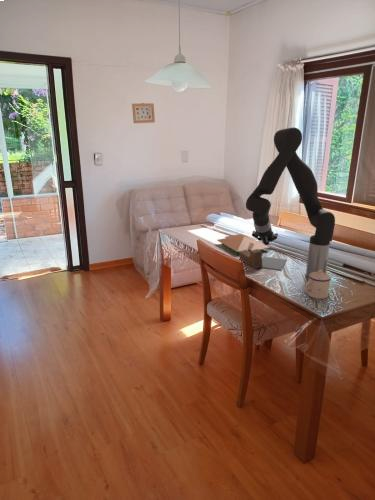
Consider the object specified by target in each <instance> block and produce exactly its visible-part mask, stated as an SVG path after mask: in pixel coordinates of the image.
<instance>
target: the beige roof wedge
mask: <svg viewBox="0 0 375 500" xmlns="http://www.w3.org/2000/svg"><path fill="white" fill-rule="evenodd" d="M216 241H218V242H219V243H221V244H222V246H221V247H223V248H224V249H226V250H227V251H230V252H231V253H233V254H234V255H236V256H239V251H243V250H248V251H249V252H250V251H252V250H256V249H258V250H260V251H261V253H263V251H264V250H265V252H268V251H269V249H270V248H271V246H268V245H265V244H263V242H260V241H259V240H257V239H255V238H252V237H250V236H248V235H246V234H243V233H239V234H232V235H228V236H224V238H220V239H217V240H216Z"/></svg>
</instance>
